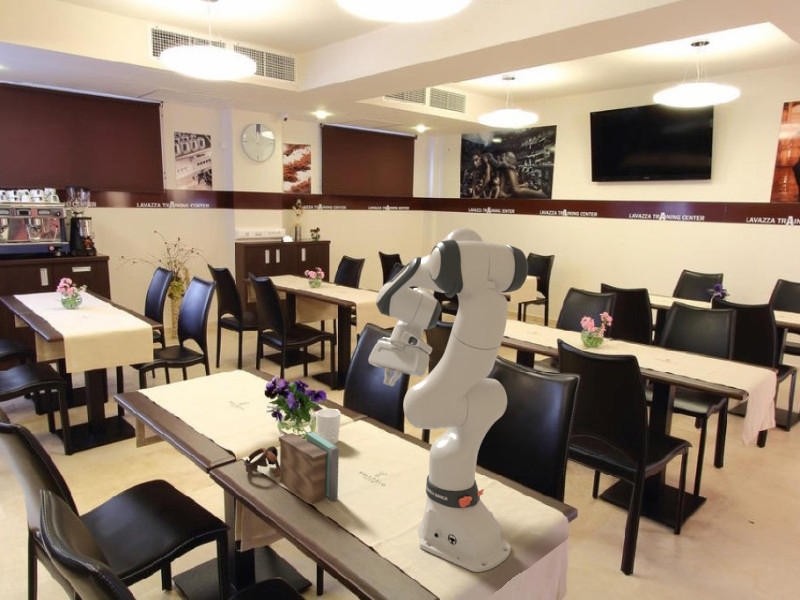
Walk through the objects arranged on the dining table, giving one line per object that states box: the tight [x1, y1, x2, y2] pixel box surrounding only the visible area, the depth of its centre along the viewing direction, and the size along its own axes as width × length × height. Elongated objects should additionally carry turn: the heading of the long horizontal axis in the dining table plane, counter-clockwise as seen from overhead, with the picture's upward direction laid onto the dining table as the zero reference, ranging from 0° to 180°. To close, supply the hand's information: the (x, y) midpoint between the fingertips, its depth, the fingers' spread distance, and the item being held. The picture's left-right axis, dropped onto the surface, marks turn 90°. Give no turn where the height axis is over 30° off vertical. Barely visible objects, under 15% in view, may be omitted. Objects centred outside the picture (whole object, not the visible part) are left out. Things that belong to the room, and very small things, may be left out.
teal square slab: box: [306, 431, 340, 501], centre depth 152 cm, size 14×2×14 cm, turn 40°
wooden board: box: [278, 432, 328, 504], centre depth 152 cm, size 17×5×13 cm, turn 44°
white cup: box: [316, 408, 342, 445], centre depth 185 cm, size 8×8×10 cm
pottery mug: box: [244, 445, 280, 478], centre depth 163 cm, size 12×10×8 cm
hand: (388, 384), depth 160 cm, fingers closed
